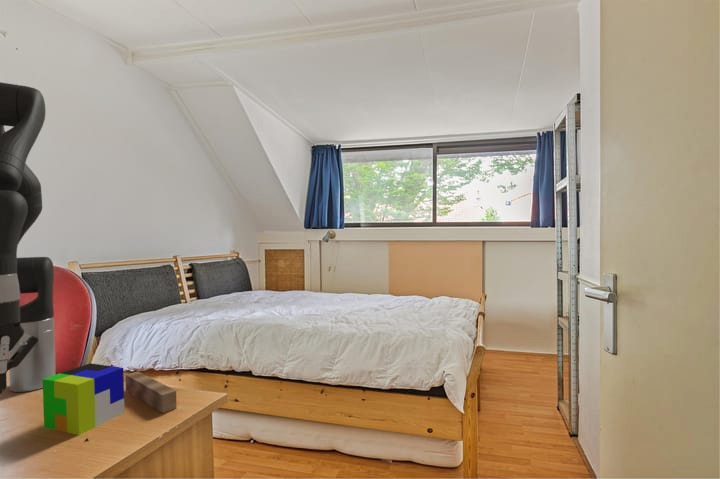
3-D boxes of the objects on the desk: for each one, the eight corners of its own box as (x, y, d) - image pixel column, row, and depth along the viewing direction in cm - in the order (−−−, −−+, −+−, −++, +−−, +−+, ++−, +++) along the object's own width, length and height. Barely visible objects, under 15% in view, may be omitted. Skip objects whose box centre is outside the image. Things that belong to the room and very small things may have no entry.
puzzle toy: (124, 413, 88) (123, 367, 87) (79, 435, 78) (77, 384, 78) (91, 406, 91) (90, 363, 91) (44, 427, 81) (42, 379, 81)
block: (125, 390, 100) (125, 374, 100) (138, 386, 102) (138, 371, 102) (162, 413, 87) (162, 395, 87) (176, 408, 89) (176, 390, 89)
